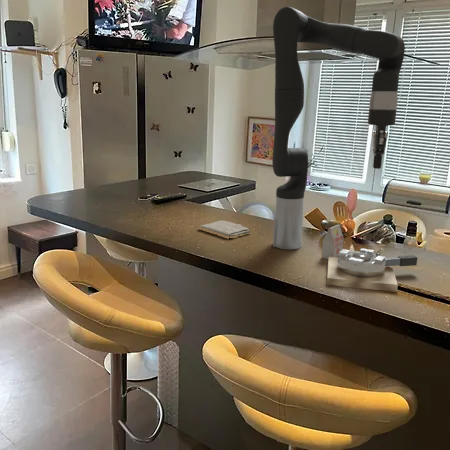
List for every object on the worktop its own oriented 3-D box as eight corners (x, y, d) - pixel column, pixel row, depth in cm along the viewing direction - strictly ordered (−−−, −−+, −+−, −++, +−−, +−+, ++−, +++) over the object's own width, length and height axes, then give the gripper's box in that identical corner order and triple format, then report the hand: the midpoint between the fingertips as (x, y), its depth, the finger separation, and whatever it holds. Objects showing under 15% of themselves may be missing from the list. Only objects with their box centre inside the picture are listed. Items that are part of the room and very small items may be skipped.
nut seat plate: (326, 284, 124) (327, 276, 123) (328, 263, 141) (328, 255, 140) (396, 291, 120) (397, 283, 119) (389, 268, 137) (390, 261, 136)
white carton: (321, 257, 146) (323, 227, 143) (331, 252, 151) (333, 223, 148) (332, 260, 143) (334, 229, 141) (342, 255, 148) (344, 225, 146)
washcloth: (230, 241, 163) (230, 233, 162) (196, 231, 175) (196, 223, 174) (252, 235, 171) (252, 227, 170) (219, 225, 183) (219, 218, 182)
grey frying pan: (350, 278, 122) (351, 263, 121) (329, 262, 134) (330, 248, 133) (428, 273, 127) (430, 258, 126) (401, 257, 139) (403, 244, 138)
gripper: (399, 108, 124) (392, 171, 129) (393, 108, 137) (387, 165, 141) (370, 108, 126) (364, 170, 131) (367, 107, 138) (362, 164, 143)
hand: (376, 168), depth 136 cm, fingers closed
